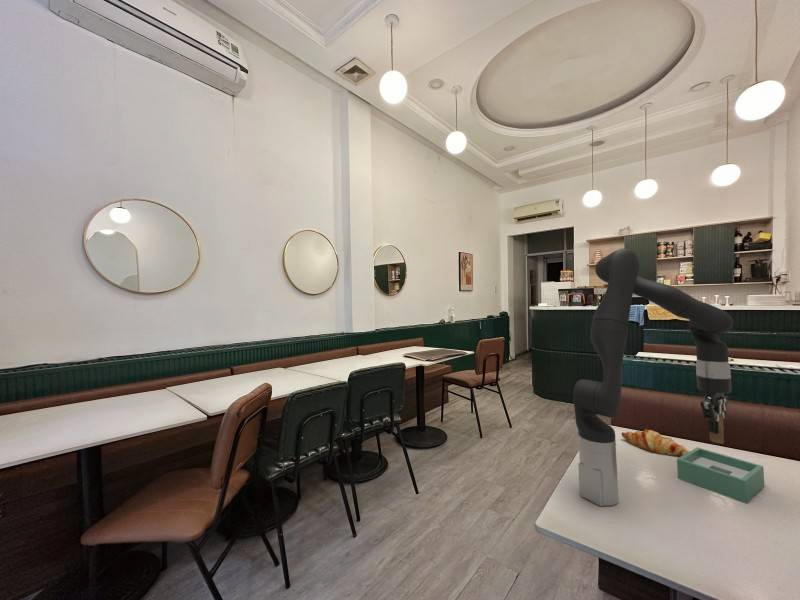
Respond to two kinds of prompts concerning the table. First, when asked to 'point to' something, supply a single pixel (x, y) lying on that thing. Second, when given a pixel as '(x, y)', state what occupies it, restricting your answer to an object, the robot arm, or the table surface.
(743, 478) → the box
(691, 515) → the table surface
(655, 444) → the croissant
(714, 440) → the peg
